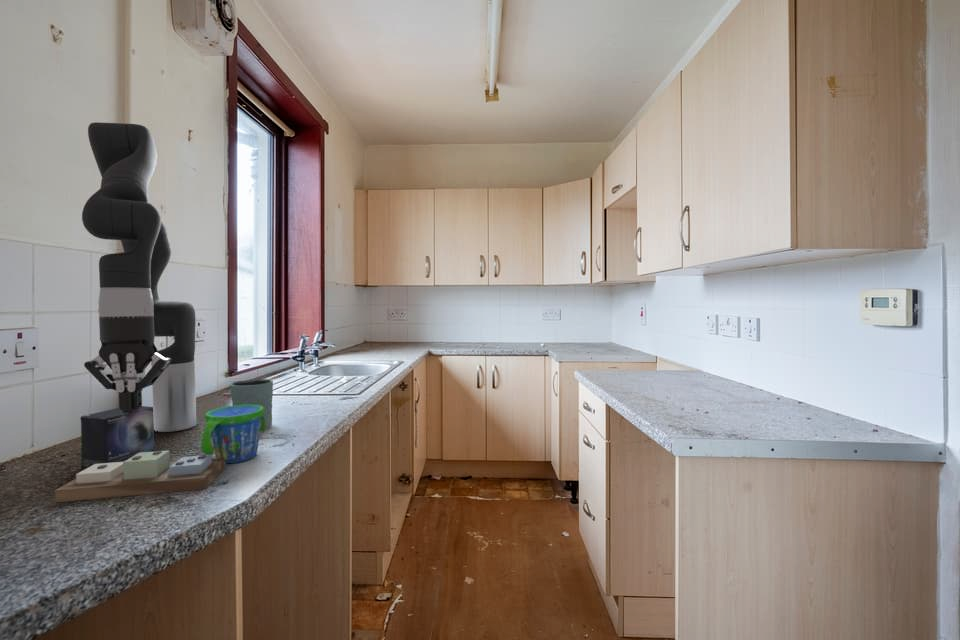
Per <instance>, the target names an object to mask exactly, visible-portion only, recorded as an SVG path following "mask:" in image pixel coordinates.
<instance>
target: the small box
mask: <svg viewBox="0 0 960 640" xmlns="http://www.w3.org/2000/svg"><path fill="white" fill-rule="evenodd" d="M80 429H81V430H80V433H81V436H80V437H81V438H80V439H81V442H80V443H81V444H80V445H81V466H80V467H81V469H87V468H88V467H90V466H92V465H94V464H101V463H114V462H124V461H126V460H128V459H129V458H131V457H133V456H134V455H136V454H138V453H142V452H155V433H154V432H155V431H154V417H153V406H146V405H145V406H143V405H142V406H141V408H139V410H138V411H137V412H135V413H123V410H120V408H119V407H117V408H112V409H108V410H103V411H99V412H95V413H91V414H89V413H88V414H85V415H81V416H80Z"/></svg>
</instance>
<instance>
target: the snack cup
mask: <svg viewBox="0 0 960 640" xmlns="http://www.w3.org/2000/svg"><path fill="white" fill-rule="evenodd" d="M204 418H205V422H206V423H205V425H204V429H203V431H202V437H201V442H200V449H201V452H202V453H203V455H212V454H214V459H217V458H225V464H235V463H237V464H238V463H241V462H245V461H249V459H252V458H253V457H255V456H257V453H258V448H259V441H260V433H264V432H265V431H266V430H267V429H266V422H265V417H264V409H263V407H262V406H260V405H234V406H233V405H227V406H224V407H223V406H222V407H218V408H215V409H212V410H210V411H207V412H206V414H205V415H204Z"/></svg>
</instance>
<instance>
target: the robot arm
mask: <svg viewBox="0 0 960 640" xmlns="http://www.w3.org/2000/svg"><path fill="white" fill-rule="evenodd" d="M87 135H88V140H89V145H90V148H91V151H92V154H93V156H94V157H93V158H94V160H95V162H96V165H97V167H98V171H99V173H100V176H101V183H100V188H99V189H98V190H97V191H96V192H94V193H93V194H92V195H91V196H90V197H89V198H88V199H87V201H86V202H85V204H84V206H83V209H82V212H81V220H82V224H83V226H84V228H85V230H86V231H87V232H88V233H89V234H90V235H91V236H93V237H95V238H96V239H97V238H98V239H99V240H101V239H102V240H109V241H110V240H111V241H120V242H121V246H122V248H123V251H122V252H116V253H115V252H114V253H108V254H104V255H102V256H101V257H100V258H99V260H98V272H99V276H98V277H99V293H98V294H99V295H98V324H99V325H98V326H99V342H100V344H101V346H100V348H99V349H98V355H97V356H96V357H94V358H93V359H92V360H89V361H88V360H87V361H86V362H84V364H83V366H84V368H85V369H86V370H87V371H88V372H89V373H90V374H91V375H92V376H93V377H94V378H95V380H97V381H98V383H100V384H101V385H102V386H103V388H105V389H106V390H114V391H116V392H117V393H118V402H119V403H118V408H120V410H123V413H135V412H137V411H138V410H139V408H141V406H143V395H142V391H143V390H144V389H145V388H148V387H150V386H152V387H151V388H152V407H153V423H154V430H155V431H154V432H157V431H158V433H167V432H168V433H169V432H170V433H171V432H177V431H183V430H187V429H191V428H194V427H196V425H198V424H197V395H196V371H195V367H196V366H195V352H196V322H197V321H196V320H197V319H196V311H195V308H194V305H193V304H192V303H191V302H190V301H188V300H186V301H185V300H160V297H159V295H158V294H159V293H158V285H159V281H160V279H161V276H162V274H163V273H164V271H165V270H166V267H167V265H168V264H169V261H170V259H171V257H172V246H171V242H170V241H171V240H170V237H169V234H168V229H167V227H166V224H165V223H164V221H163V220H162V215H161V214H160V212H159V210H158V209H157V208H156V206H154V204H152V203H149V184H150V181H151V178H152V177H153V174H154V172H155V169H156V167H157V164H158V151H157V148H156V147H157V146H156V143H155V139H154V136H153V134H152V132H151V130H149V129H148V128H147V127H146V126H144V125H141V124H136V123H123V122H121V123H117V122H91V123H90V124H89V125H88V128H87ZM155 337H156V338H158V337H174V341H173V343H172V344H170V345H169V346H167V347H164V348H161V349H159V350H158V347H156V345H155ZM149 365H151V367H150V369H149V370H148V372H147V373H146V369H147V368H148V366H149ZM108 367H109V368H108ZM110 369H111V371H110Z"/></svg>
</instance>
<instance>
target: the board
mask: <svg viewBox="0 0 960 640" xmlns="http://www.w3.org/2000/svg"><path fill="white" fill-rule="evenodd" d="M175 462H176V461H170V466H171V465H172V464H174V463H175ZM225 469H226V463H225V458H217V459H216V458H212V465H211V466H210V467H209V468H207V469H206V470H205V471H204V472H203V473H201V474H189V475H177V476H170V475H169V469H168V470H166V471H165V472H164V473H162V474H161V475H160V476H159V477H153V478H141V479H129V480H124V473H123V474H121V475H120V476H118V477H117V478H115V479H114V480H112V481H105V482H93V483H82V484H76V478H74V479H73V480H71V481H69V482H67V483H66V484H64V485H61V486H60V487H59V488H57V489H55V490H54V494H55V503H61V502H62V503H64V502H75V501H83V500H84V501H85V500H87V501H88V500H94V499H96V500H97V499H106V498H107V499H108V498H119V497H131V496H140V495H153V494H161V493H163V494H164V493H172V492H173V493H174V492H183V491H185V492H186V491H195V490H196V491H197V490H205V489H207V488H208V487H209V486H210V485H211V483H212V482H213V481H214V480H216V478H217V477H218V476H219V475H220V474H221V473H222V472H223V471H224V470H225Z"/></svg>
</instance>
